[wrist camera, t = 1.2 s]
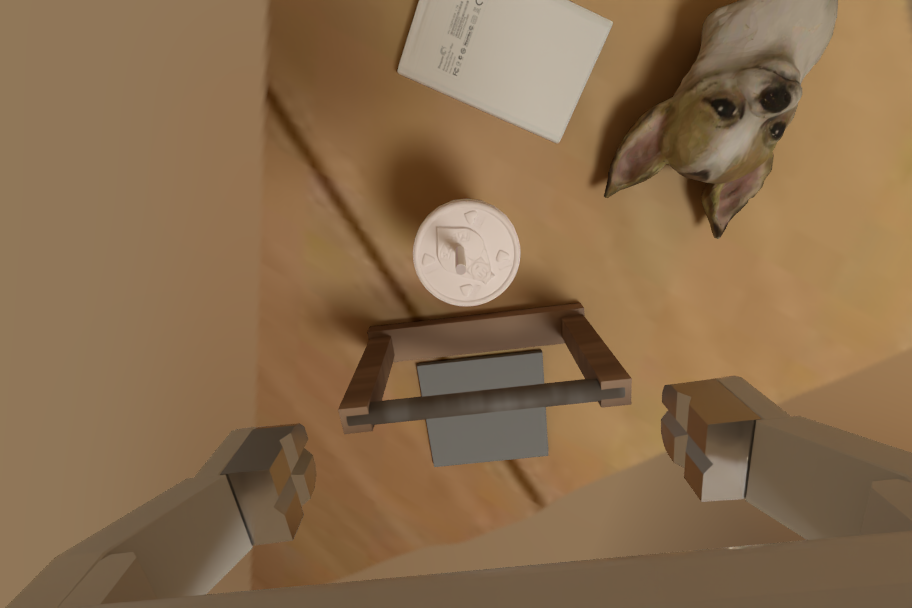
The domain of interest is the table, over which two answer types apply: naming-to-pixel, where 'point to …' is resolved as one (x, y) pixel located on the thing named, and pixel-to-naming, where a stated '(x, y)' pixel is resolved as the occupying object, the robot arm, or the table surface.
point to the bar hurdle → (477, 336)
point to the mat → (485, 431)
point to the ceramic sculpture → (730, 103)
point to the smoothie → (466, 252)
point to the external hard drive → (507, 57)
